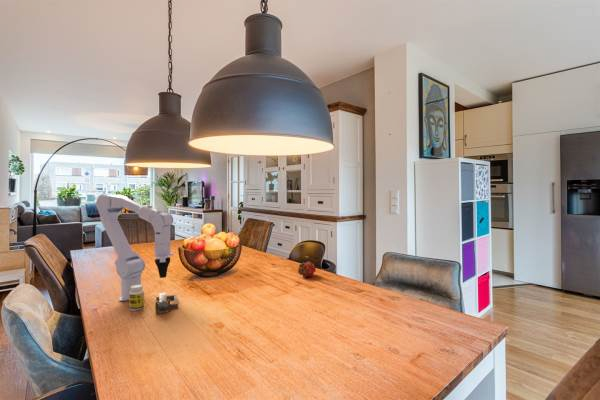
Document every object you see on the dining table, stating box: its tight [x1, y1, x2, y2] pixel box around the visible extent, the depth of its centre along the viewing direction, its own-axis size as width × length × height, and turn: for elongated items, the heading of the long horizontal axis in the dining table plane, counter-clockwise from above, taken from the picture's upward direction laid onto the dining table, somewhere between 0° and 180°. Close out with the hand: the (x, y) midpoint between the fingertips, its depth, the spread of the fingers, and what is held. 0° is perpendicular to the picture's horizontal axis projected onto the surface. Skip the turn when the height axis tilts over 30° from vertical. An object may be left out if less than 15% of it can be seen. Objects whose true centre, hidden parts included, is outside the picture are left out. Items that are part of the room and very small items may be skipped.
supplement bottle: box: [128, 284, 145, 312], centre depth 113 cm, size 5×5×8 cm
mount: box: [154, 294, 179, 315], centre depth 116 cm, size 14×8×4 cm, turn 24°
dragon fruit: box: [297, 261, 317, 278], centre depth 157 cm, size 8×8×12 cm
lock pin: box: [158, 291, 168, 311], centre depth 113 cm, size 13×3×3 cm, turn 24°
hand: (162, 276), depth 122 cm, fingers closed
